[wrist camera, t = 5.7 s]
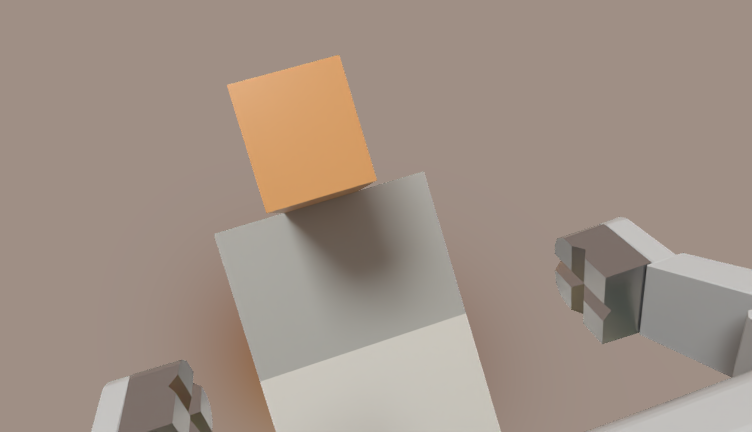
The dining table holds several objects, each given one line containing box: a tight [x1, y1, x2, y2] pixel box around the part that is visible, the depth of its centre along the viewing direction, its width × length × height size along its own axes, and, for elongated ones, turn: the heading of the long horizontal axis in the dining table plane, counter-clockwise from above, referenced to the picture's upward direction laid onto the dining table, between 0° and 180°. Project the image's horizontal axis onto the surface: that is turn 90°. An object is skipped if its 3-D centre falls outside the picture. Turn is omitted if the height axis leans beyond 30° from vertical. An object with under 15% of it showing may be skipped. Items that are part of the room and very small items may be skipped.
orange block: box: [227, 55, 377, 213], centre depth 26 cm, size 4×20×4 cm, turn 7°
